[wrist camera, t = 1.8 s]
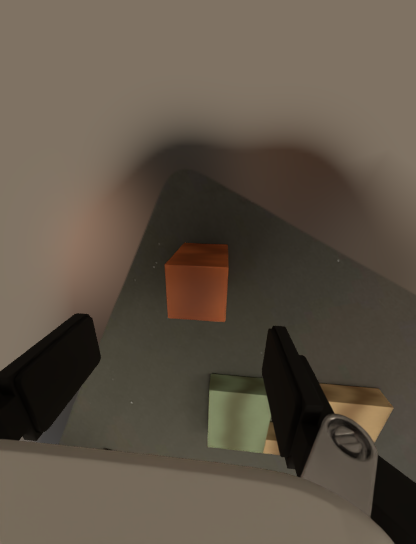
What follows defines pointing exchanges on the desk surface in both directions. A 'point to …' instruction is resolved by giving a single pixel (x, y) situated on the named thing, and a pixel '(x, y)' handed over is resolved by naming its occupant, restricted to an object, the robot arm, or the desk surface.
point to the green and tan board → (256, 413)
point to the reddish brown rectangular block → (197, 282)
